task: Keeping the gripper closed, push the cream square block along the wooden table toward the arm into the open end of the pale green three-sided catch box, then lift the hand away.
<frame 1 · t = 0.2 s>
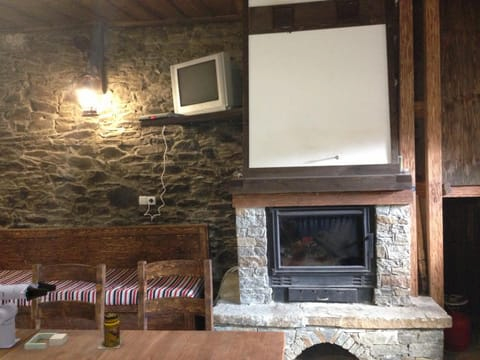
hand: (51, 289, 165), 22 cm above the table, tool horizontal, fingers open, 7 cm apart
condiment: (110, 345, 163), on the table
cream square block: (58, 343, 165), on the table
catch box: (42, 343, 166), on the table
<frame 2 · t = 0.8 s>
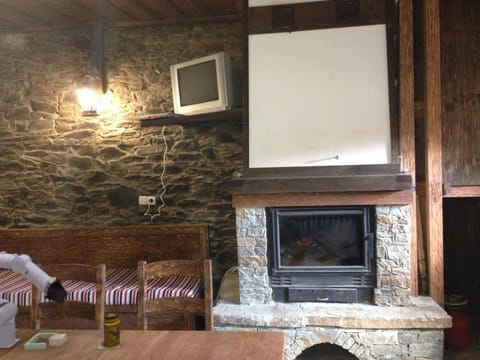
hand: (64, 299, 165), 18 cm above the table, tool tilted 50°, fingers open, 7 cm apart
nothing on the table moved.
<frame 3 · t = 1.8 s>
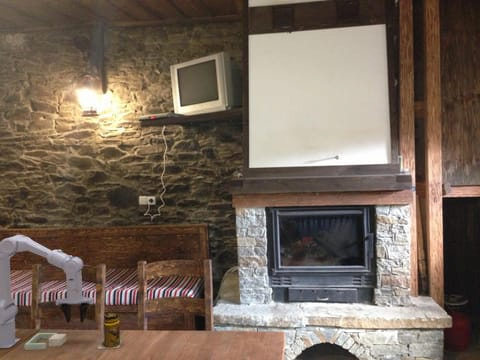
hand: (75, 321, 165), 8 cm above the table, tool pointing down, fingers open, 5 cm apart
nothing on the table moved.
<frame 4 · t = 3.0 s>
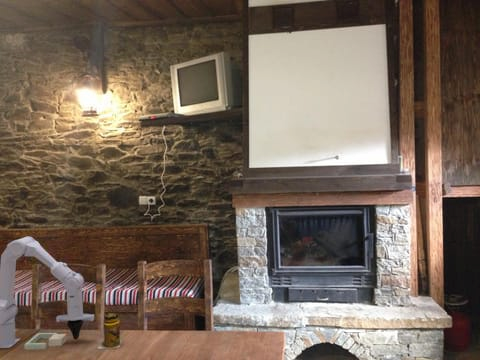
hand: (76, 338, 166), 2 cm above the table, tool pointing down, fingers closed
nothing on the table moved.
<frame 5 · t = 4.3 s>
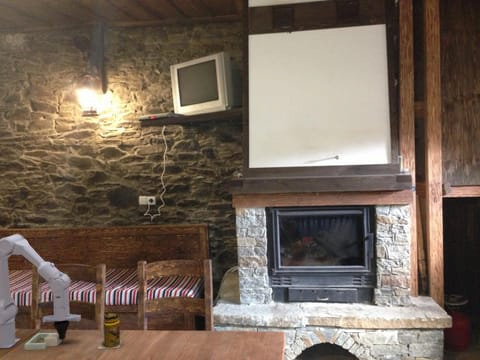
hand: (62, 338, 166), 2 cm above the table, tool pointing down, fingers closed
cream square block: (53, 343, 165), on the table, touching gripper
everything else where it was.
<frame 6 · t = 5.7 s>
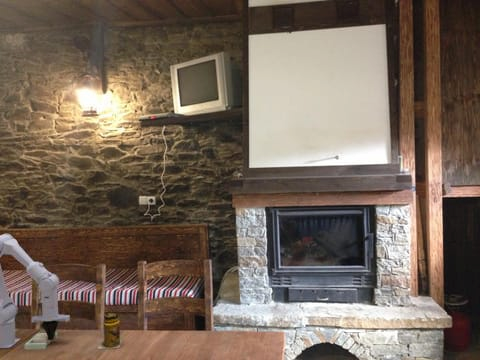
hand: (51, 339, 165), 2 cm above the table, tool pointing down, fingers closed
cream square block: (42, 344, 165), on the table
everything else where it was.
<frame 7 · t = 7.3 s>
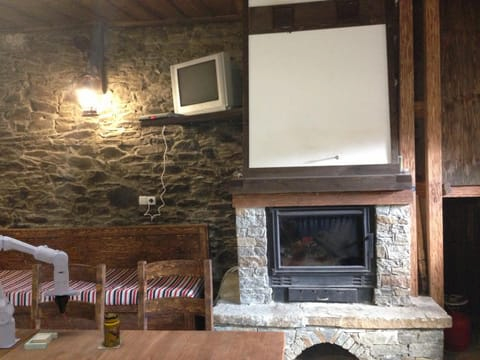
hand: (62, 312, 173), 9 cm above the table, tool pointing down, fingers closed
nothing on the table moved.
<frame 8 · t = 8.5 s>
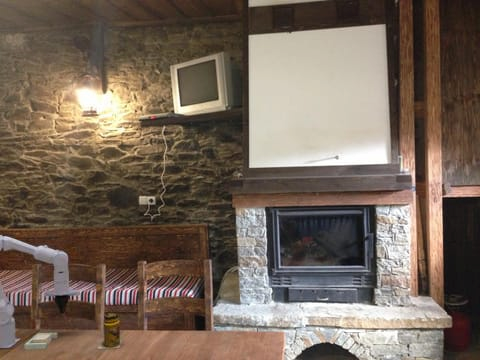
hand: (62, 312, 173), 9 cm above the table, tool pointing down, fingers closed
nothing on the table moved.
at the end: cream square block 0.3 cm off-centre on the catch box, point 0.0 cm above the catch box's base; cream square block tilted 0°; the gripper is holding nothing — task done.
